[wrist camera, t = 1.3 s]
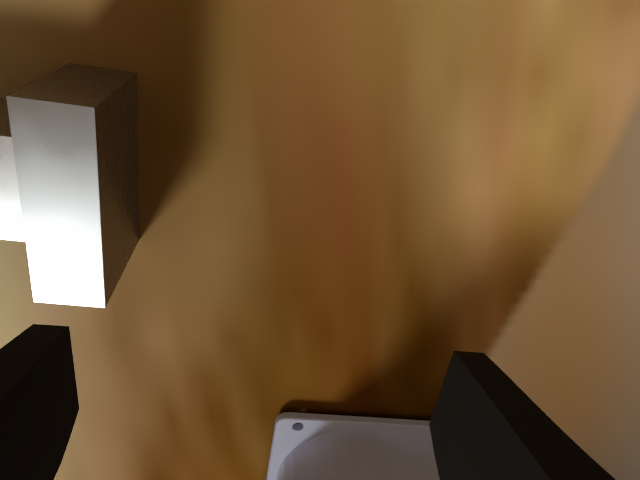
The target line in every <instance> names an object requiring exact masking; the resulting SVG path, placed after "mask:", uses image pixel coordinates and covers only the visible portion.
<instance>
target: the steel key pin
mask: <svg viewBox="0 0 640 480" xmlns="http://www.w3.org/2000/svg"><path fill="white" fill-rule="evenodd" d="M6 99H7V100H4V99H0V239H2V240H12V241H23V242H26V248H27V256H28V263H29V271H30V278H31V286H32V293H33V300H34V302H41V303H52V304H64V305H76V306H88V307H100V308H105V307H106V305H107V303H108V301H109V299H110V297H111V295H112V293H113V291H114V289H115V287H116V285H117V283H118V281H119V279H120V277H121V275H122V273H123V271H124V269H125V267H126V265H127V263H128V261H129V259H130V257H131V255H132V253H133V251H134V249H135V247H136V245H137V243H138V241H139V199H138V124H137V73H134V72H127V71H120V70H113V69H106V68H99V67H92V66H85V65H78V64H71V63H69V64H67V65H65V66H63V67H61V68H59V69H57V70H55V71H54V72H52V73H50V74H48V75H46V76H44V77H42V78H40V79H38V80H36V81H34V82H32V83H30V84H28V85H26V86H24V87H22V88H21V89H19V90H17V91H15V92H13V93H11V94H9V95H7V96H6Z"/></svg>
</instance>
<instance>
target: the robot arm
mask: <svg viewBox="0 0 640 480" xmlns="http://www.w3.org/2000/svg"><path fill="white" fill-rule="evenodd" d="M78 410H79V404H78V396H77V388H76V379H75V371H74V363H73V355H72V347H71V339H70V331H69V326H53V325H37V324H33V325H32V326H30V327H29V328H28V329H26V330H25V331H23V332H22V333H21V334H20V335H18V336H17V337H16V338H14V339H13V340H12V341H10V342H9V343H8V344H6V345H5V346H4V347H2V348H1V349H0V480H53V479H54V477H55V475H56V473H57V471H58V468H59V466H60V464H61V461H62V459H63V456H64V453H65V450H66V447H67V444H68V441H69V438H70V435H71V432H72V429H73V426H74V423H75V420H76V417H77V413H78ZM295 423H300V424H295ZM266 480H615V479H614V478H613V477H612V476H611V475H610V474H609V473H607V472H606V471H605V470H604V469H603V468H602V467H601V466H600V465H599V464H597V463H596V462H595V461H594V460H593V459H592V458H591V457H590V456H588V454H587V453H585V452H584V451H583V450H582V449H581V448H580V447H579V446H578V445H577V444H576V443H575V442H574V441H573V440H572V439H571V438H570V437H568V436H567V435H566V434H565V433H564V432H563V431H562V430H561V429H560V428H559V427H558V426H557V425H556V424H555V423H554V422H553V421H552V420H551V419H550V418H549V417H548V416H547V415H546V414H545V413H544V412H543V411H542V410H541V409H540V408H539V407H538V406H537V405H536V404H535V403H534V402H533V401H532V400H531V399H530V398H529V397H528V396H527V395H526V394H525V393H524V392H523V391H522V390H521V389H520V388H519V387H518V386H517V385H516V384H515V383H514V382H513V381H512V380H511V379H510V378H509V377H508V376H507V375H506V374H505V373H504V372H503V371H502V370H501V369H500V368H499V367H498V366H497V365H496V364H495V363H494V362H493V361H492V360H491V359H489V358H488V357H487V356H486V355H485V354H484V353H476V352H460V351H454V352H453V355H452V358H451V361H450V364H449V367H448V370H447V373H446V376H445V379H444V382H443V385H442V388H441V391H440V394H439V397H438V400H437V403H436V406H435V409H434V411H433V414H432V417H431V420H430V421H425V420H409V419H392V418H376V417H360V416H343V415H327V414H311V413H294V412H284V413H281V414H279V415H278V416H277V418H276V421H275V427H274V433H273V440H272V446H271V452H270V458H269V464H268V470H267V477H266Z"/></svg>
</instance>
